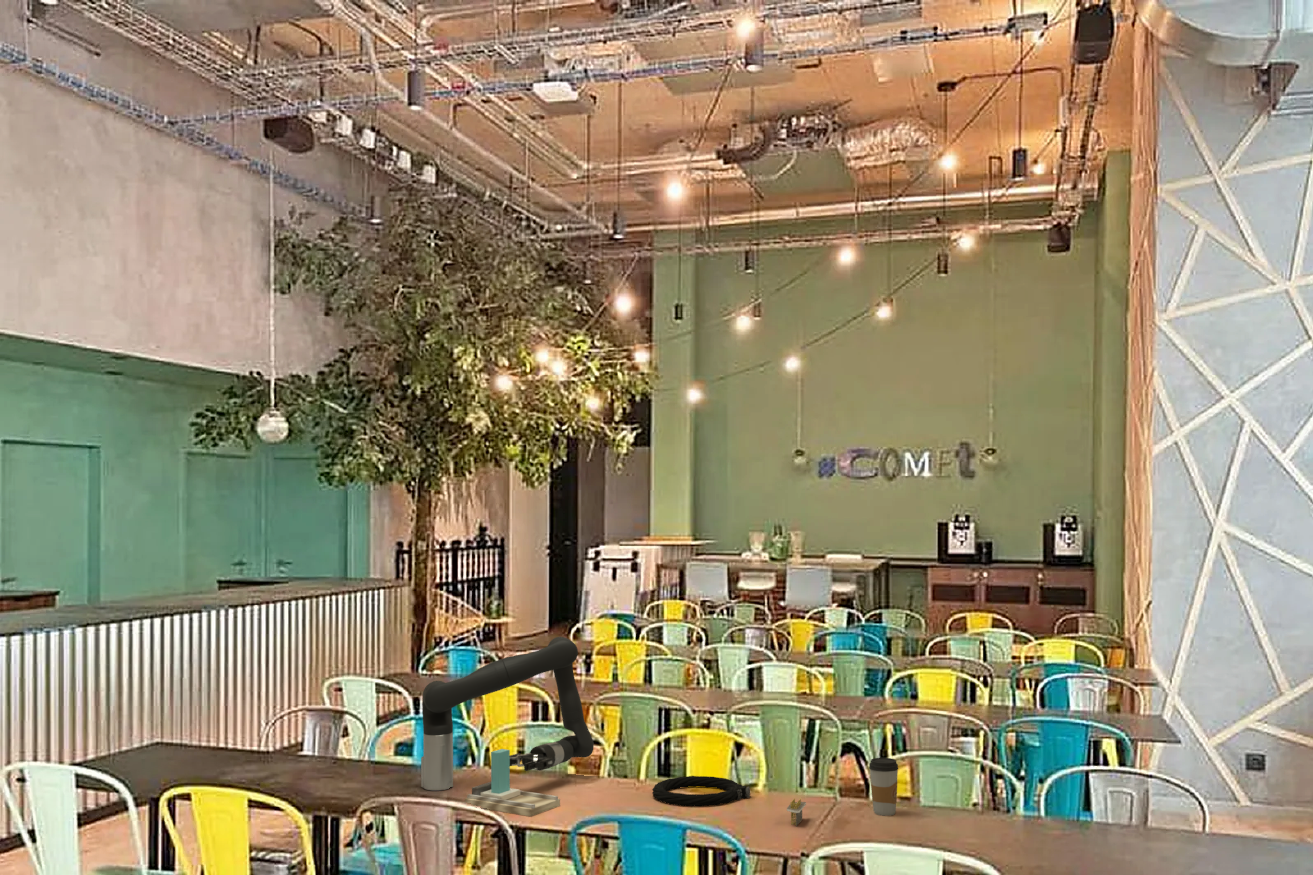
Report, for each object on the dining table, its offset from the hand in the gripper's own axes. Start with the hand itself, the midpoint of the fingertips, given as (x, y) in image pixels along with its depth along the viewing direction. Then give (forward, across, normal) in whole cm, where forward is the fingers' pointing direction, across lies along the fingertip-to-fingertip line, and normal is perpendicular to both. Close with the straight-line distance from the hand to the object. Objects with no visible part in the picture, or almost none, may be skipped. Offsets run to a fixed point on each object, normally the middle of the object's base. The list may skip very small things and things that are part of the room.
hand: (514, 766), depth 376 cm
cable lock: (-32, +47, +11) cm, 58 cm away
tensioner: (+6, 0, +8) cm, 10 cm away
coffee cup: (-41, +103, +10) cm, 112 cm away
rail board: (+6, +4, +10) cm, 13 cm away
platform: (-19, +86, +11) cm, 89 cm away
